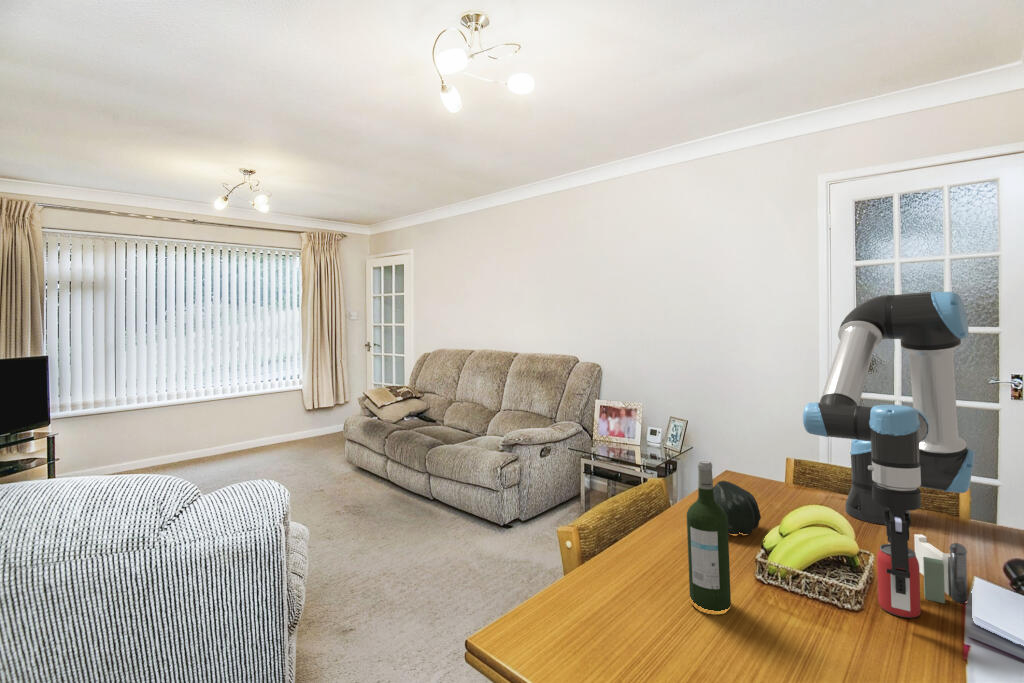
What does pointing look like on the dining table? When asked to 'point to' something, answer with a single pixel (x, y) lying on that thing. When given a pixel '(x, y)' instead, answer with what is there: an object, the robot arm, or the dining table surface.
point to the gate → (931, 552)
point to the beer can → (885, 583)
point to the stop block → (934, 579)
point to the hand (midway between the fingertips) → (898, 591)
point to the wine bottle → (708, 546)
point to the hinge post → (958, 572)
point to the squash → (737, 507)
